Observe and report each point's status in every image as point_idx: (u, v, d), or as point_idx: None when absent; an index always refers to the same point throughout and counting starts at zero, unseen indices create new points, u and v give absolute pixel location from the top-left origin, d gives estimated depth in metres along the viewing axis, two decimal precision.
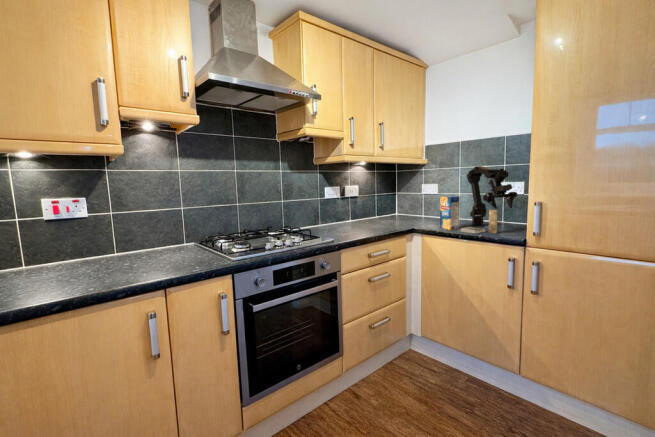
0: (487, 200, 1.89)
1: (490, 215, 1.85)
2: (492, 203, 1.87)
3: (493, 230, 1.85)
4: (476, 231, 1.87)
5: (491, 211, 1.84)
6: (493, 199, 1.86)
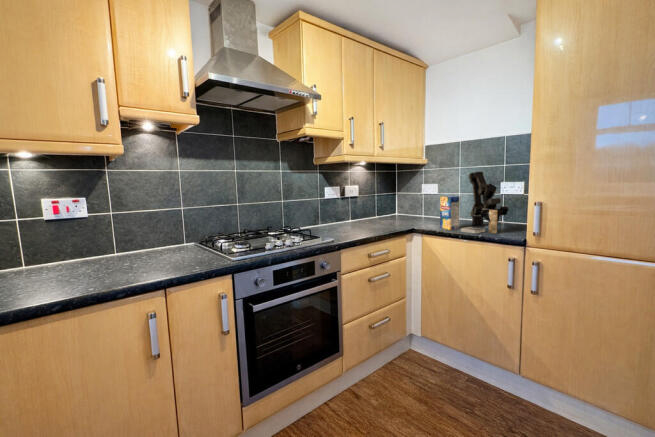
0: (481, 214, 1.91)
1: (490, 215, 1.85)
2: (486, 217, 1.88)
3: (493, 230, 1.85)
4: (476, 231, 1.87)
5: (491, 211, 1.84)
6: (486, 212, 1.88)
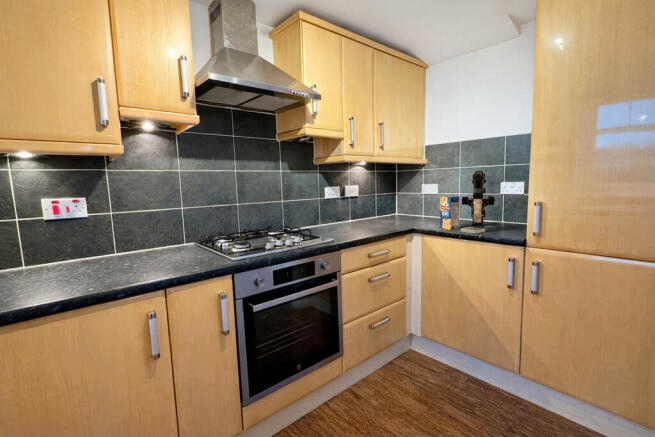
0: (468, 204, 1.96)
1: (474, 204, 1.90)
2: (471, 206, 1.93)
3: (477, 220, 1.89)
4: (476, 231, 1.87)
5: (475, 200, 1.89)
6: (471, 202, 1.92)
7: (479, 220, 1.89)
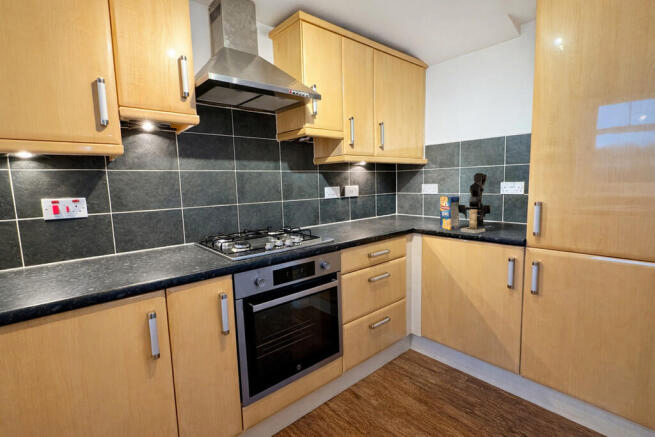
0: (462, 212, 1.99)
1: (469, 214, 1.92)
2: (464, 214, 1.96)
3: None
4: (476, 231, 1.87)
5: (470, 210, 1.91)
6: (465, 210, 1.95)
7: None
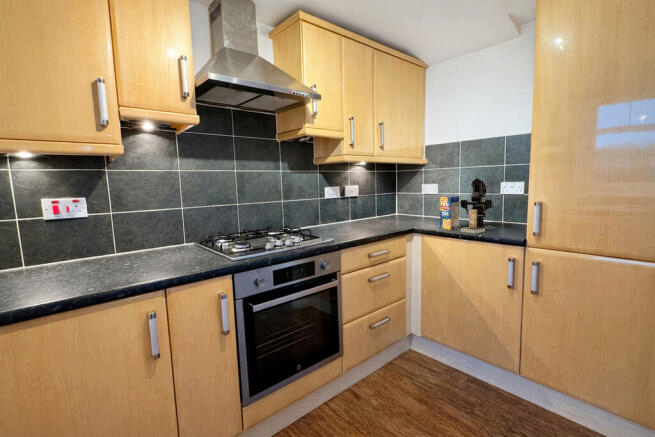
0: (463, 207, 2.07)
1: (469, 214, 1.92)
2: (465, 209, 2.04)
3: None
4: (476, 231, 1.87)
5: (470, 210, 1.91)
6: (466, 205, 2.03)
7: None
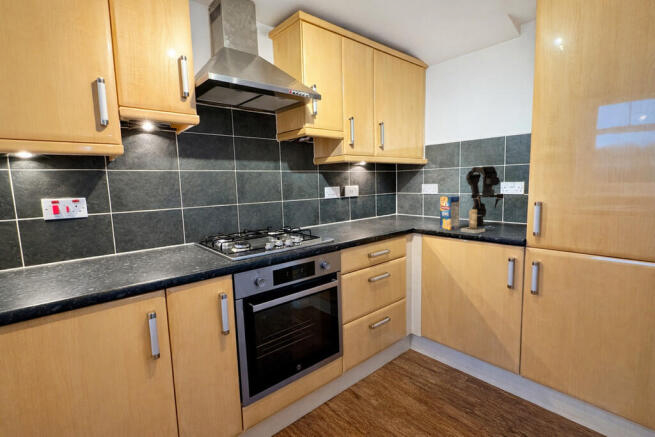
0: None
1: (469, 214, 1.92)
2: (477, 203, 2.05)
3: None
4: (476, 231, 1.87)
5: (470, 210, 1.91)
6: (477, 201, 2.03)
7: None
